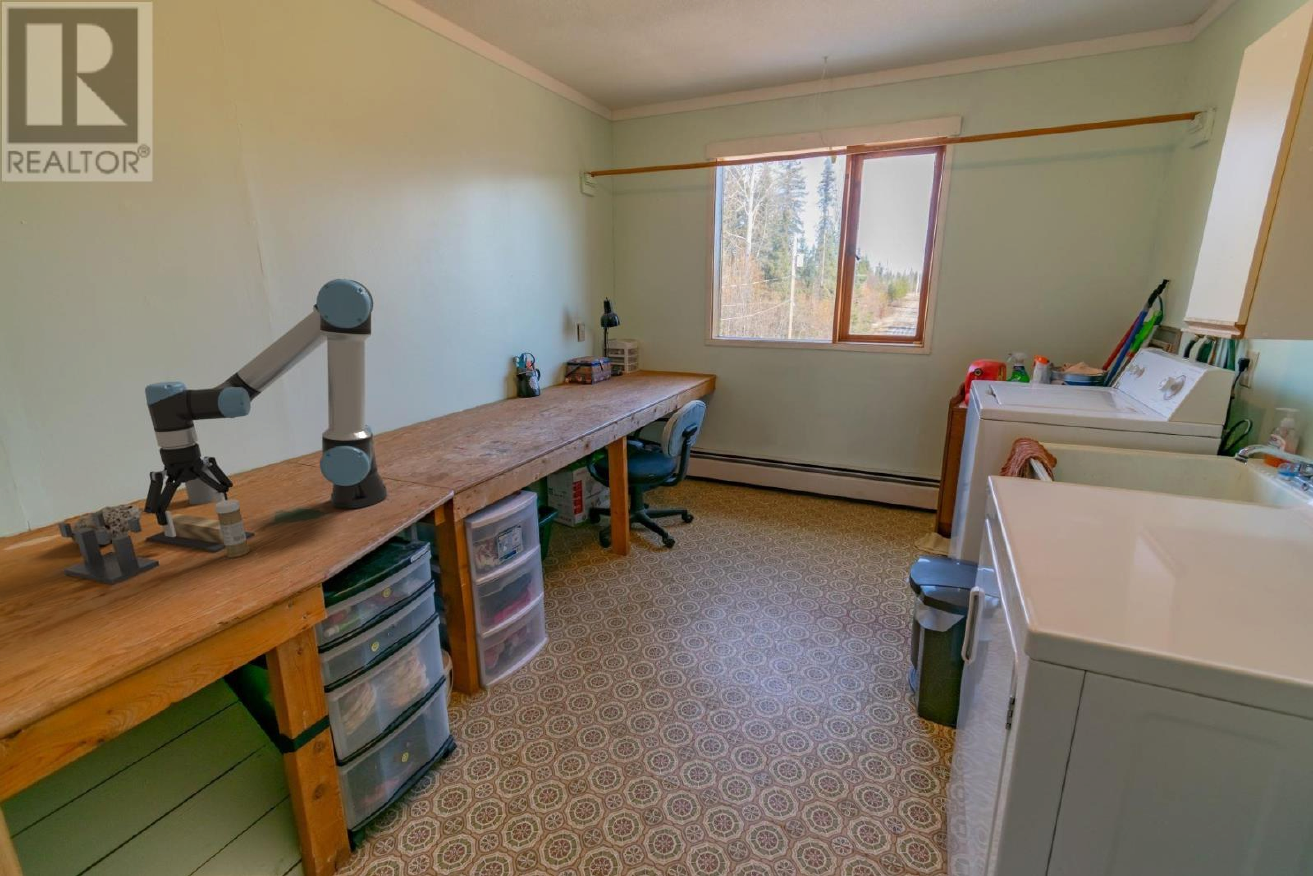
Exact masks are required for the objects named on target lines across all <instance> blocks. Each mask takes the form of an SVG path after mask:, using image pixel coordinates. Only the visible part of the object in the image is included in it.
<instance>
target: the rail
mask: <svg viewBox="0 0 1313 876" xmlns="http://www.w3.org/2000/svg"><path fill="white" fill-rule="evenodd" d="M171 517H172V521H173V525H174V528H175V532H176V536H179V537H185V538H191V539H197V540H203V541H209V542H214V543H220V544H222V543H224V540H223V536H222V532H221V528H220V522H219V519H214V518H208V517H206V518H205V517H202V516H201V517H200V516H193V515H187V514H180V513H176V514H173V515H171ZM162 529H163V528H162ZM163 531H164V529H163ZM164 534H165V533H164Z"/></svg>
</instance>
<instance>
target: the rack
mask: <svg viewBox="0 0 1313 876" xmlns="http://www.w3.org/2000/svg"><path fill="white" fill-rule="evenodd" d="M90 514H91V515H92V518H93V521H94V525H95V526H99V527H102V526H105V525H106V524H105V520H104V517H103V513H98V512H97V511H96V512H91V513H90ZM128 524H129V528H130V530H129V531H130V533H134V534H139V533H140V532H143V530H142V526H141V522H140V521H139V519H135V518H131V519H128ZM57 526H58V529H59V532H60V535H61V537H62V538H67V539H68V538H70V537H72V536H73V532H72V529H71V526H72V525H71V524H70V523H69V522H68V523H67V522H61V523H58V524H57ZM95 533H96V535H95ZM75 534H76V538H77V541H78V543H77V544H78V547H79V550H80V554H81V556H82V560H83V562H80V563H78V564H75V565H72V566H70V567H67V568H64V569H63V573H64V575H66V576H69V577H70V576H71V577H76V578H81V579H83V580H84V579H85V580H89V581H95V582H99V583H103V582H104V583H105V584H108V583H109V584H108V585H112V584H113V586H114V585H116V584H115V583H117V584H119V583H121V582H124V581H126V580H128V578H129V579H131V578H133V577H135V576H138V575H140V574H142V572H143V573H145V572H147V571H149V570H152V569H154V568H156V567H159V566H160V562H159V560H156V559H151V558H146V557H142V556H137V555H136V552H135V551H136V550H135V548H134V545H133V541H132V538H131V535H129V534H124V535H121V536H118V537H115V538H113V539H111V540H110V539H109V536H108V533H107V530H104V529H99V530H96V531H94V529H90V528H87V529H84V530H81V531H78V532H75ZM96 537H97V538H96ZM97 540H98V541H97ZM111 542H112V546H113V549H114V551H109V552H107V553H105V554H102V552H101V549H100V545H105V546H106V545H108V544H110V543H111ZM98 543H99V544H98ZM139 573H140V574H139ZM130 577H131V578H130ZM118 582H119V583H118ZM104 583H103V584H104Z"/></svg>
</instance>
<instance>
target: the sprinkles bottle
mask: <svg viewBox="0 0 1313 876" xmlns="http://www.w3.org/2000/svg"><path fill="white" fill-rule="evenodd" d="M214 508H215V513H216V515H217V517H218V520H219V522H220V528H221V532H222V536H223V540H224V544H225V547H226V548H225V552H226V557H228V558H238V557H243V556H245V555H246V554H248V553H249V552H250V547H249V543H248V541H247V539H246V534H245V532H246V530H245V526H244V522H243V518H242V514H241V506H240V502H239V500H237V499H228V500H225V501H222V502H219V503H217V504H216V503H215V505H214Z"/></svg>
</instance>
